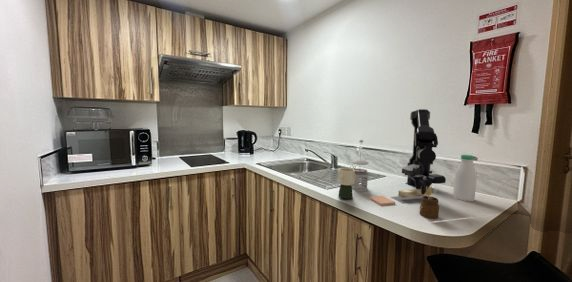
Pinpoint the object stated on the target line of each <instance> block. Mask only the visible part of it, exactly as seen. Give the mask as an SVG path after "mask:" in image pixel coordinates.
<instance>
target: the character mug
mask: <svg viewBox="0 0 572 282" xmlns="http://www.w3.org/2000/svg"><path fill="white" fill-rule="evenodd" d="M337 174H338V175H337V176H338V178H337V181H338V183H339V184H340V185H339V188H338V189H339V190H338V197H339V198H341V199H343V200H344V199H345V200H346V199H348V200H349V199H350V200H351V199H353V197H354V196H353V195H354V194H353V190H352V186H351V185H354V182H355V170H354V168H353V169H352V167H351V168H350V167H340V168H338V172H337Z"/></svg>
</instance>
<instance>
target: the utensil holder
mask: <svg viewBox="0 0 572 282" xmlns="http://www.w3.org/2000/svg"><path fill="white" fill-rule="evenodd" d="M432 188H433V191H432ZM432 192H433V193H434V194H433V193H432ZM426 194H427V195H428V196H423V197H422V201H421V202H419V203H420V204H419V215H420V216H421V217H422V218H423V217H424V218H425V219H430V220H437V219H439V212H440V206H439V199H438V198H437V197H435V196H436V194H437V190H436V187H435V186H430V187H428V192H427V186H426Z"/></svg>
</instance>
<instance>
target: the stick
mask: <svg viewBox="0 0 572 282" xmlns="http://www.w3.org/2000/svg"><path fill="white" fill-rule="evenodd" d="M421 189H422V188H421ZM421 189H416V188H413V189H405V190H404V189H403V190H398V194H397V195H398V196H399V197H402V198H406V197H417V196H428V195H427V194H426V192H425V194H422V192H421ZM427 192H428V190H427Z"/></svg>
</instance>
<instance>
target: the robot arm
mask: <svg viewBox="0 0 572 282" xmlns="http://www.w3.org/2000/svg"><path fill="white" fill-rule="evenodd" d="M409 119H410V121H411V125H412V127H413V128H414V130H413V141H412V142H413V144H412V155H411V157H410V158H409V159H408V162H407V164H406V166H403V167H402V169H401V173H402V174H404V176H407V179H406V182H405V185H408V186H411V187H414V188H415V189H421V192H422V194H425V192H426V186H427V190H428V187H429V188H430V187H432V184H435V185H436V184H446V182H447V181H446V180H447V179H446V176H444V175H442V174H438V173H435V174H434V173H433V171H432V170H431V165H433V164H434V161H436V159H437V155H436V152H435V151H434V150H433V148H437V146H438V145H439V141H438V136H437V134H436V133H435V130H434V128H433V127H431V126H430V121H429V120H430V119H431V111H429V109H428V108H427V109H426V108H425V109H422V108H421V109H420V108H419V109H416V110H413V111H410V117H409Z"/></svg>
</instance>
